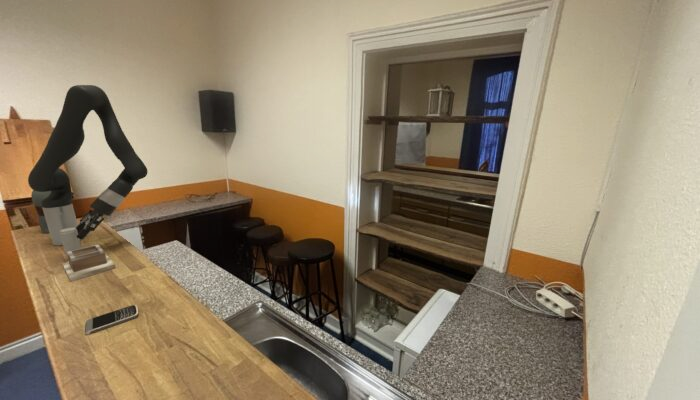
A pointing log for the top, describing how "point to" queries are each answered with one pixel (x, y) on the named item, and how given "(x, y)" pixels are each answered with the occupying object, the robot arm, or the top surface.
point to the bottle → (40, 208)
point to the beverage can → (70, 239)
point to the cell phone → (110, 319)
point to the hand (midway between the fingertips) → (77, 235)
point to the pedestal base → (88, 271)
